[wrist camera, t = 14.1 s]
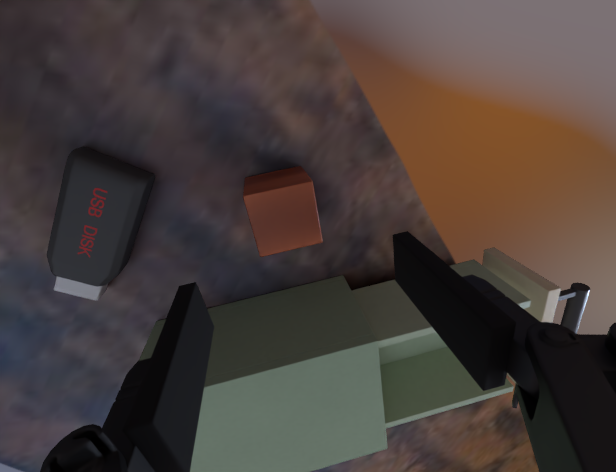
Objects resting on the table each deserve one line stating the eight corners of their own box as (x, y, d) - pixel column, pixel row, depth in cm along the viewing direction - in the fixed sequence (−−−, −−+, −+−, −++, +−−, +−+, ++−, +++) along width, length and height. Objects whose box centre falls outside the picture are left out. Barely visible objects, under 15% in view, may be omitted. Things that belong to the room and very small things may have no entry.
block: (244, 177, 25) (242, 196, 20) (301, 165, 26) (312, 180, 21) (258, 229, 27) (260, 257, 22) (310, 217, 28) (323, 242, 23)
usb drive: (156, 174, 24) (144, 182, 21) (119, 290, 27) (105, 309, 25) (83, 145, 22) (62, 151, 20) (54, 273, 26) (33, 291, 23)
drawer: (544, 234, 32) (625, 270, 25) (526, 325, 38) (587, 375, 31) (329, 288, 30) (352, 343, 23) (344, 375, 36) (366, 440, 29)
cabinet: (343, 274, 31) (377, 341, 22) (356, 369, 37) (387, 448, 29) (155, 320, 30) (116, 411, 21) (203, 411, 36) (187, 508, 27)
